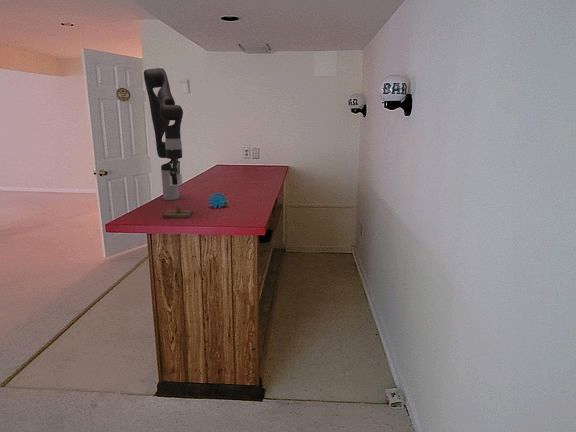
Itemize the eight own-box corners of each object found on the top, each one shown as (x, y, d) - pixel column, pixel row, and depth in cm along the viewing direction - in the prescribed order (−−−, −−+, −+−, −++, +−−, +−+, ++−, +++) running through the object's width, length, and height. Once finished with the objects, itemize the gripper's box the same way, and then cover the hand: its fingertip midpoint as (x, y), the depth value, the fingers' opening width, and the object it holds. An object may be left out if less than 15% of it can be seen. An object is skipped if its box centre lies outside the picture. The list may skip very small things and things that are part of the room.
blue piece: (205, 205, 216) (210, 190, 221) (207, 211, 221) (212, 196, 226) (225, 209, 215) (230, 193, 220) (227, 214, 220) (231, 199, 225)
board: (168, 212, 208) (168, 203, 207) (192, 212, 209) (192, 203, 208) (163, 218, 197) (162, 208, 195) (188, 217, 197) (188, 208, 196)
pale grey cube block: (171, 183, 201) (171, 173, 200) (182, 183, 202) (181, 173, 200) (169, 185, 196) (169, 175, 195) (180, 185, 197) (179, 175, 196)
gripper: (168, 147, 202) (171, 181, 206) (162, 149, 188) (164, 186, 192) (184, 147, 202) (186, 181, 206) (178, 149, 188) (181, 185, 192)
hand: (176, 183), depth 199 cm, fingers closed on pale grey cube block, 5 cm apart
